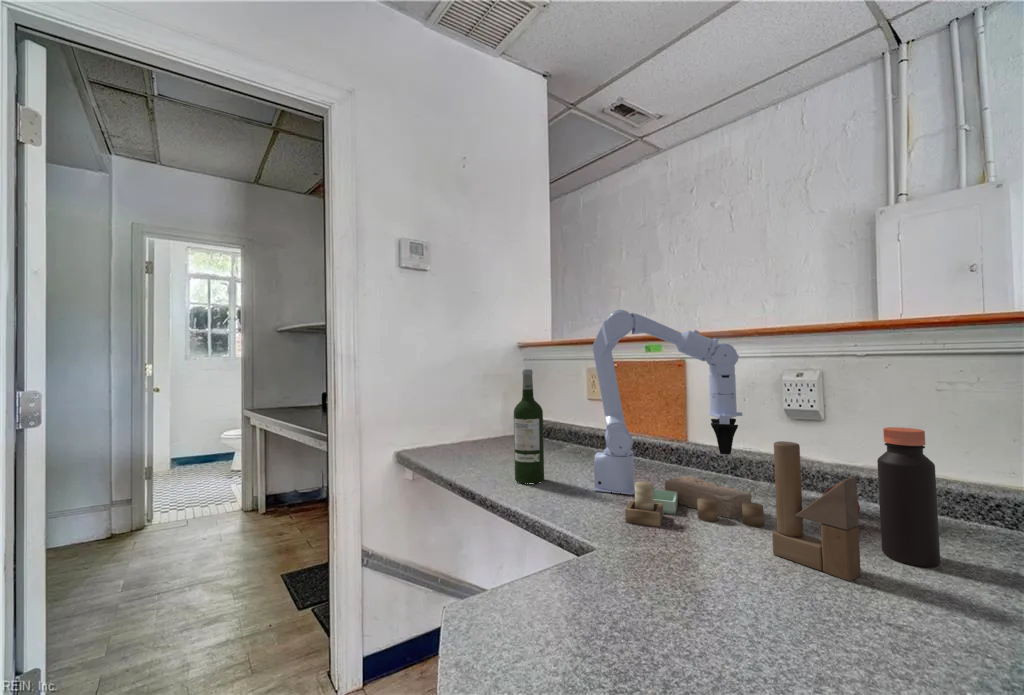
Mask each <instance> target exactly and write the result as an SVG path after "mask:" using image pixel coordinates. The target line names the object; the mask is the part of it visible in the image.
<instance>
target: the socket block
mask: <svg viewBox="0 0 1024 695" xmlns="http://www.w3.org/2000/svg"><path fill="white" fill-rule="evenodd" d="M624 511H625V512H624V513H625V523H629V524H636V525H644V526H652V527H659V528H660V527H661V524H662V521H663V518H664V513H663V503H654V511H646V510H638V509H635V499H631V500H630V501H629V502H628V504H627V506H626V508H625V510H624Z"/></svg>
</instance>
